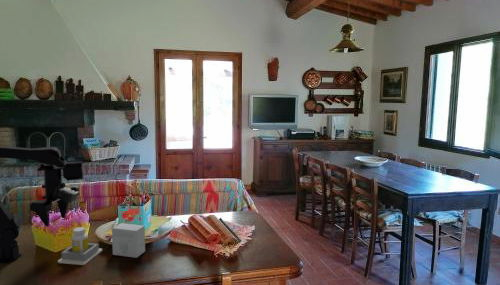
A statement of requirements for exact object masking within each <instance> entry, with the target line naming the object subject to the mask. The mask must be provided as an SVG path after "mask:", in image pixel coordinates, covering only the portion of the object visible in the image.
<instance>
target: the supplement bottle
mask: <svg viewBox="0 0 500 285" xmlns="http://www.w3.org/2000/svg"><path fill="white" fill-rule="evenodd" d="M72 233H73V235H72V236H71V246H72V252H79V253H84V252H86V251H87V250H88V243H89V237H88V236H89V235H88V234H87V233H86V227H82V226H81V227H80V226H79V227H75V228H73V230H72Z"/></svg>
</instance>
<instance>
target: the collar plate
mask: <svg viewBox="0 0 500 285" xmlns="http://www.w3.org/2000/svg"><path fill="white" fill-rule="evenodd" d="M102 251H103V248H100V244H99V243H94V242H88V250H87V251H86V252H84V253H79V252H72V245H70V246H69V247H67V248H66V249H64V250H63V251H61V258H60V259H58V260H57V263H58V264H64V265H65V264H67V265H68V264H69V265H78V266H79V265H80V266H85V265H87V263H89V262H90V261H91V260H92V259H94V258H95V257H96V256H97V255H99V254H100V253H101V252H102Z"/></svg>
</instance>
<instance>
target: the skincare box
mask: <svg viewBox="0 0 500 285" xmlns="http://www.w3.org/2000/svg"><path fill="white" fill-rule="evenodd" d="M145 229H146V227H145V225H139V224H131V223H122V222H121V223H119V224H117V225H115V226H113V227H112V228H111V238H112V240H111V241H112V255H114V256H121V257H128V258H135V259H137V258H139V257H140V256H141V255H142V254H144V253H145V252H146V230H145Z"/></svg>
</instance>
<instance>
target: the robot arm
mask: <svg viewBox="0 0 500 285" xmlns="http://www.w3.org/2000/svg"><path fill="white" fill-rule="evenodd" d="M0 159H10V160H11V159H13V160H14V159H15V160H27V161H34V162H36V163H39V164H40V166H39V167H37V169H36V170H37V171H38V172H39V171H40V172H42V171H43V181H44V182H43V183H44V184H41V188H42V189H44V195H42V196H41V197H42V199H36V200H35V201H32V202H30V204H28V205H29V212H30V211H31V212H34V213H35V214H36V215H37V216H38V218H39V219H40V220H41V222H42V223H43V225H44V226H45V227H49V226H50V213H51V212H52V211H53V204H55V203H56V202H57V207H58V210H59V213H60V216H61V218H62V219H64V218H66V216H67V212H68V209H69V205H70V204H71V203H72V202H75V201H76V200H77V197H78V196H80V189H79V186H76V185H73V186H72V187H67V186H66V184H65V182H63V179H65V180H66V181H80V180H81V181H82V180H84V176H85V175H84V173H85V172H84V166H83V161H77V162H76V161H75V162H73V161H72V162H68V161H67V160H66V159H65V158H64V156H62V152H61V150H60V149H59V148H58V147H56V146H45V147H37V148H36V147H35V148H29V147H16V146H15V147H14V146H5V145H0ZM62 175H63V176H62ZM23 222H24V221H23V220H22V219H21V218H20V216H19V214H18V212H17V213H15V214H13V213H11V212H9V210H8V209H7V208H6V206H5V204H4V202H2V200H1V199H0V263H5V262H9V263H11V262H13V261H14V260H16V259H17V258H19V257H21V256H22V255H23V254H22V253H20V251H19V248H20V246H19V245H18V241H17V240H16V239H17V238H18V237H19V236H20V234H21V232H22V230H23V226H24V224H23Z"/></svg>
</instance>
